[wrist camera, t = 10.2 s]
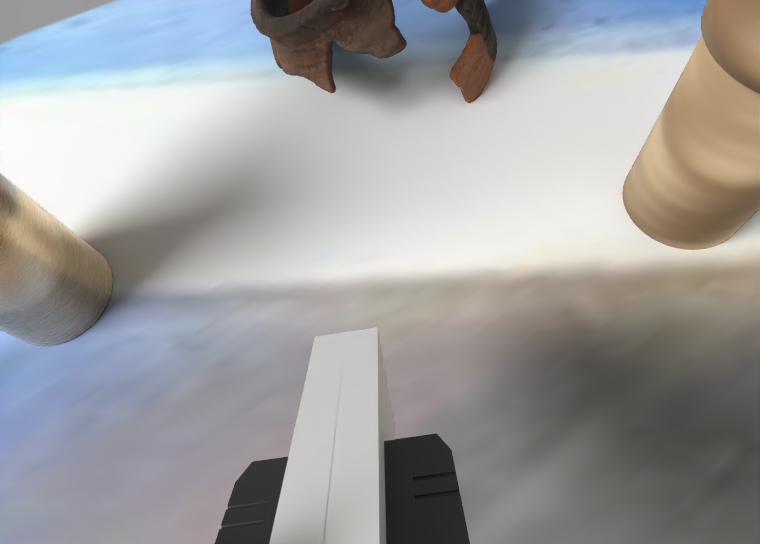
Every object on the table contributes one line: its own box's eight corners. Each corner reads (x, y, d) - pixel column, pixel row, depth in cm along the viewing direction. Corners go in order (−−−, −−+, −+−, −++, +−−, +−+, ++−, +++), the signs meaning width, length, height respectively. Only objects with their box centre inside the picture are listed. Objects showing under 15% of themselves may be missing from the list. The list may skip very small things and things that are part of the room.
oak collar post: (782, 209, 21) (1009, -1, 13) (684, 281, 20) (858, 107, 12) (680, 126, 23) (817, -104, 15) (587, 189, 22) (676, -16, 14)
